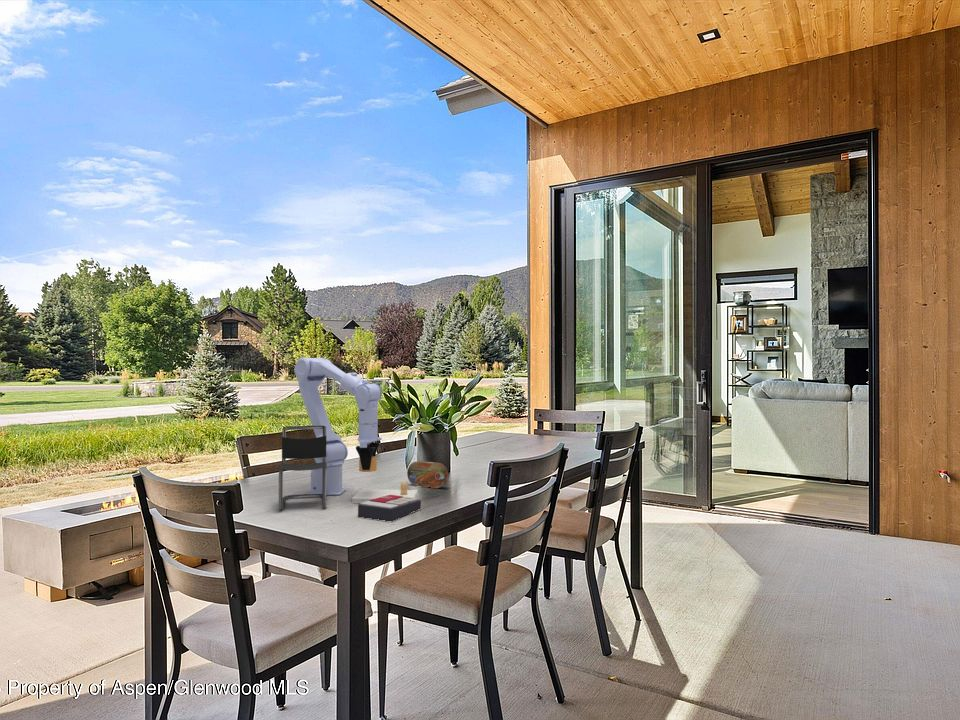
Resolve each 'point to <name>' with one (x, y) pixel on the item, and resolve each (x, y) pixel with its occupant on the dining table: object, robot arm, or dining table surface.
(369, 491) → the junction board
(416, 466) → the tin
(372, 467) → the wooden cylinder block
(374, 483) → the dining table surface
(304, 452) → the chair
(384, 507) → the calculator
